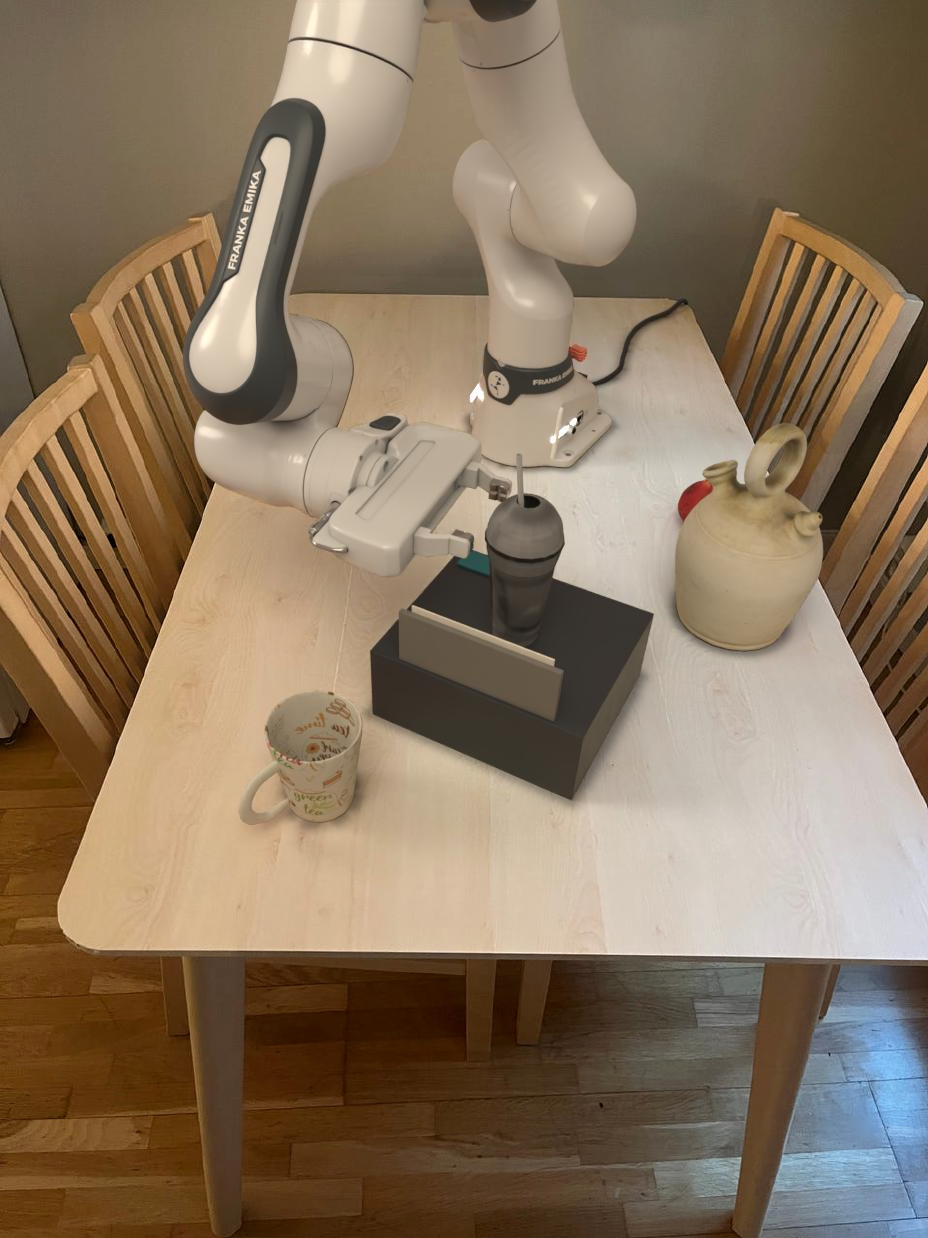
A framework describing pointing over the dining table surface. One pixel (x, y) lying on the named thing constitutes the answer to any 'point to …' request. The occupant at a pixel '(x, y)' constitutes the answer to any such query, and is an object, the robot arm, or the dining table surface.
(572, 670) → the printer
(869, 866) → the dining table surface
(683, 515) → the red pomegranate
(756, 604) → the jug
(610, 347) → the dining table surface
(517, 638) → the beverage cup
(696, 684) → the dining table surface
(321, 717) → the mug
